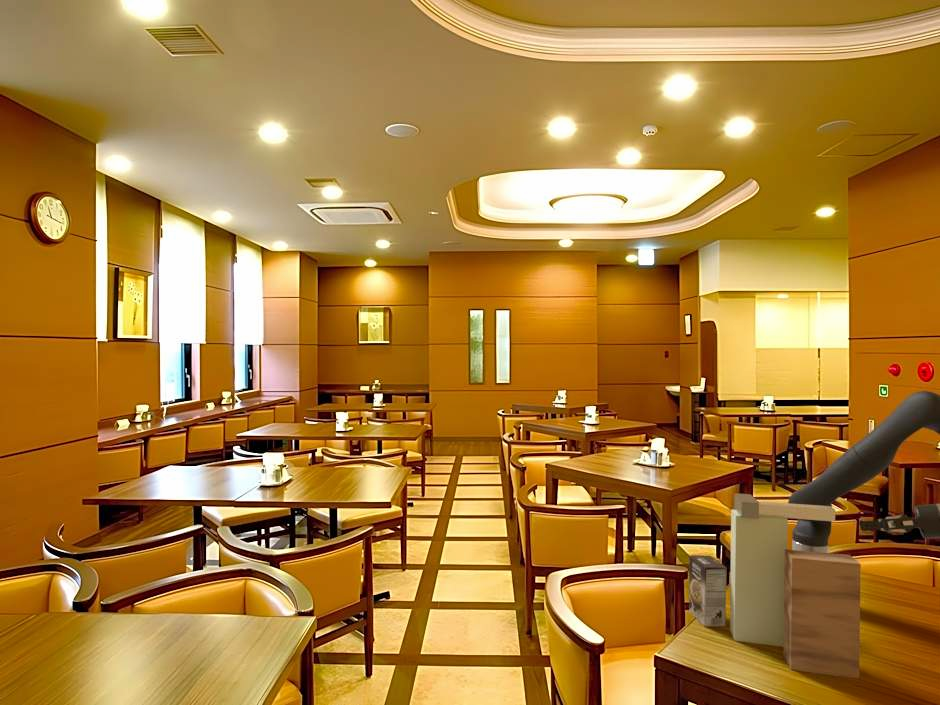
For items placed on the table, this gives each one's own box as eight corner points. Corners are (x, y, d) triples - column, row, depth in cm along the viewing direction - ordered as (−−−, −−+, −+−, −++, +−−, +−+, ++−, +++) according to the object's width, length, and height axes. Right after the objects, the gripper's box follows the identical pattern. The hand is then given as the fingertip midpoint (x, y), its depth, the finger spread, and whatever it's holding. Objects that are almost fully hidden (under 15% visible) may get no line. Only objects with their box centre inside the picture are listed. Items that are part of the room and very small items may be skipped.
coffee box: (687, 611, 161) (688, 554, 161) (709, 611, 162) (710, 554, 162) (703, 627, 152) (704, 567, 152) (726, 626, 153) (727, 566, 153)
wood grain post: (783, 656, 138) (784, 549, 138) (848, 664, 134) (849, 555, 134) (790, 669, 132) (792, 557, 132) (859, 678, 129) (860, 564, 129)
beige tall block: (729, 629, 151) (731, 509, 151) (779, 635, 148) (781, 513, 148) (734, 640, 145) (735, 515, 145) (786, 647, 142) (787, 519, 142)
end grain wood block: (734, 508, 152) (734, 493, 152) (826, 514, 147) (826, 499, 147) (741, 517, 143) (741, 501, 143) (839, 525, 138) (839, 508, 138)
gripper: (935, 504, 138) (857, 511, 147) (939, 503, 127) (854, 510, 135) (946, 537, 135) (866, 541, 144) (951, 538, 124) (864, 543, 133)
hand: (860, 526), depth 140 cm, fingers open, 8 cm apart
